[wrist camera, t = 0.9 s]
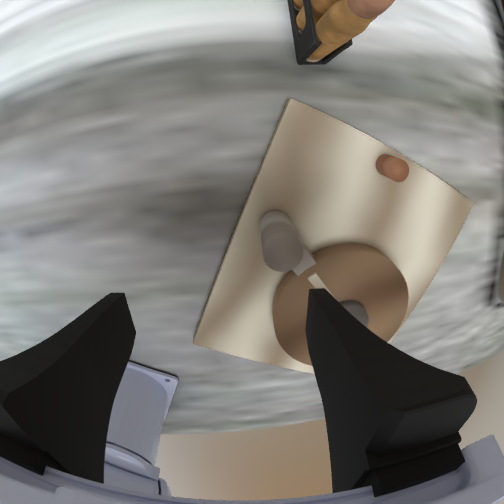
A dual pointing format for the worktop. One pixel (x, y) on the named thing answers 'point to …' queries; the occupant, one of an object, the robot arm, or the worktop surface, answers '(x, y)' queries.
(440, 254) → the board
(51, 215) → the worktop surface
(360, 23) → the ammunition clip
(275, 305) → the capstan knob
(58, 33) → the worktop surface
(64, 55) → the worktop surface
